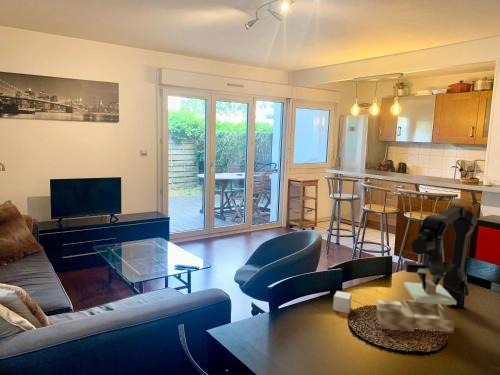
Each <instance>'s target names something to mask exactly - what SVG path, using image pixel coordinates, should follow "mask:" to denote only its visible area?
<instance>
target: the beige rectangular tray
mask: <svg viewBox="0 0 500 375" xmlns="http://www.w3.org/2000/svg"><path fill="white" fill-rule="evenodd" d="M401 305H402V306H401V313H396V312H383V311H378V309H377V308H376V314H375V315H376V316H375V320H376V319H377V320H376V323H377V322H378V323H377V324H379V325H378V327H379V326H380V327H379V329H380V328H382V329H390V330H389V331H393V330H400V331H399V332H405V331H414V332H415V330H414V328H421V329H430V330H439V331H445V332H444V333H446V332H447V333H449V334H454V330H455V324H456V323H455V319H453V317H452V316H451V315H450V314H449V313H448V312H447V310H446V309H445V308H444V307H443V306H442V304H431V303H418V302H416V301H415V300H412V299H411V300H410V299H402V300H401ZM382 329H381V330H382Z"/></svg>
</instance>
